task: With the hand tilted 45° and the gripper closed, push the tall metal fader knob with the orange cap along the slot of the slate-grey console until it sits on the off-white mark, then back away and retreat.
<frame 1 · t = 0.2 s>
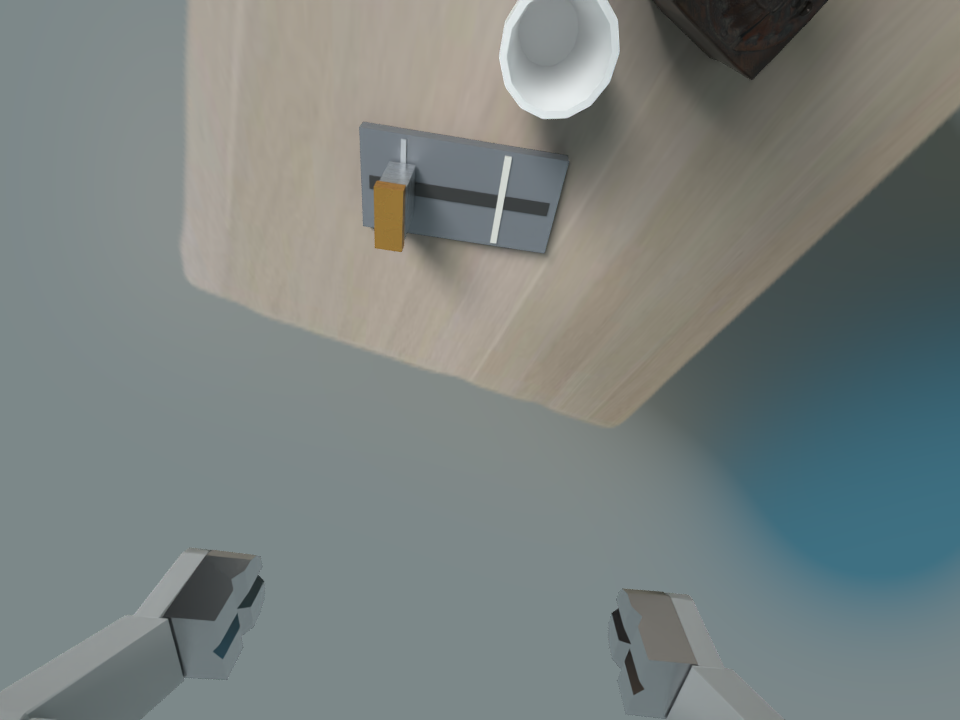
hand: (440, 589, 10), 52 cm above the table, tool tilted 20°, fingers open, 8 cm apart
console: (461, 189, 57), on the table
foam cup: (547, 30, 45), on the table
fader: (395, 203, 51), point 7 cm above the table, slide at -7.0 cm
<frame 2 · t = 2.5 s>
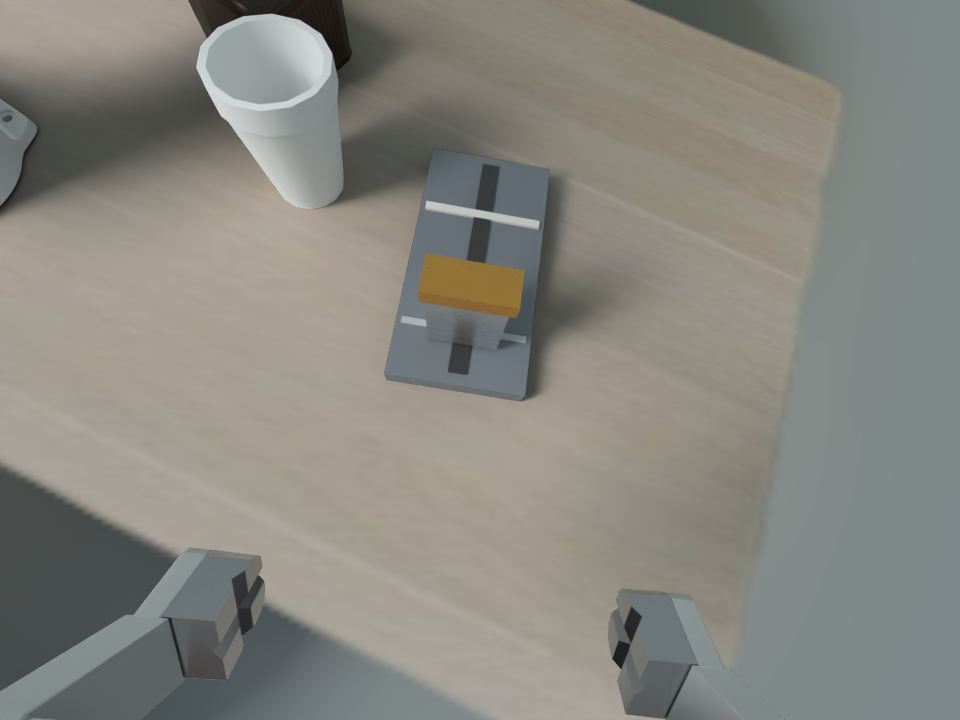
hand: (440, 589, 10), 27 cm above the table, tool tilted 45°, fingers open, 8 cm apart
console: (473, 271, 44), on the table
manual coffee grinder: (271, 49, 50), on the table
foam cup: (312, 183, 45), on the table
fader: (467, 307, 35), point 7 cm above the table, slide at -7.0 cm
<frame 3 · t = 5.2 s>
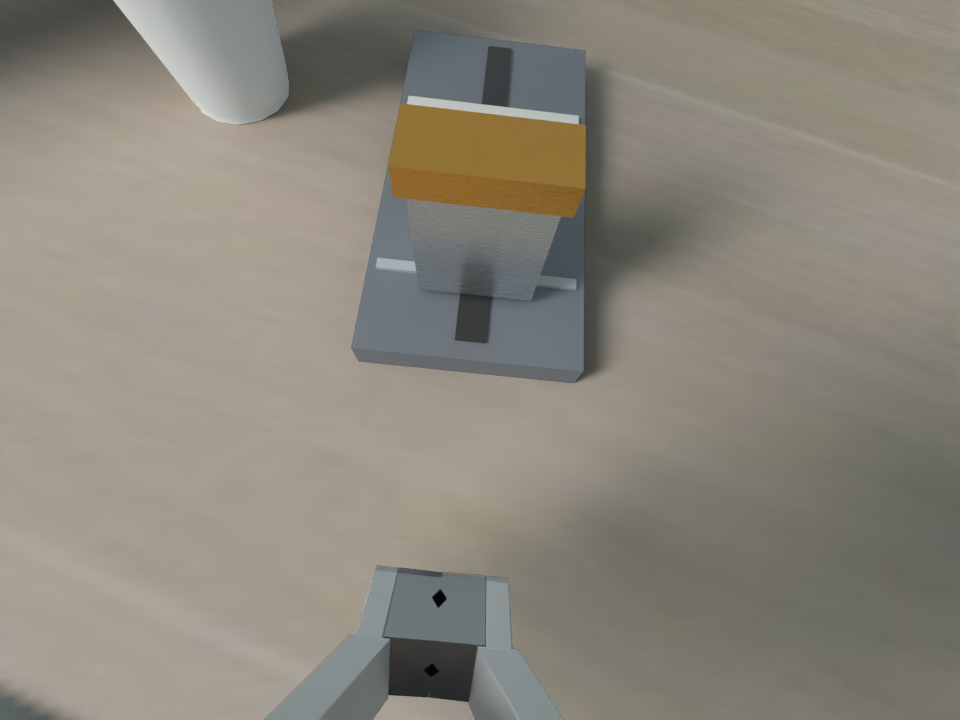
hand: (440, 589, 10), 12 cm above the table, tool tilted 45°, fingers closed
console: (484, 197, 29), on the table
foam cup: (243, 92, 31), on the table
fader: (482, 220, 20), point 7 cm above the table, slide at -7.0 cm
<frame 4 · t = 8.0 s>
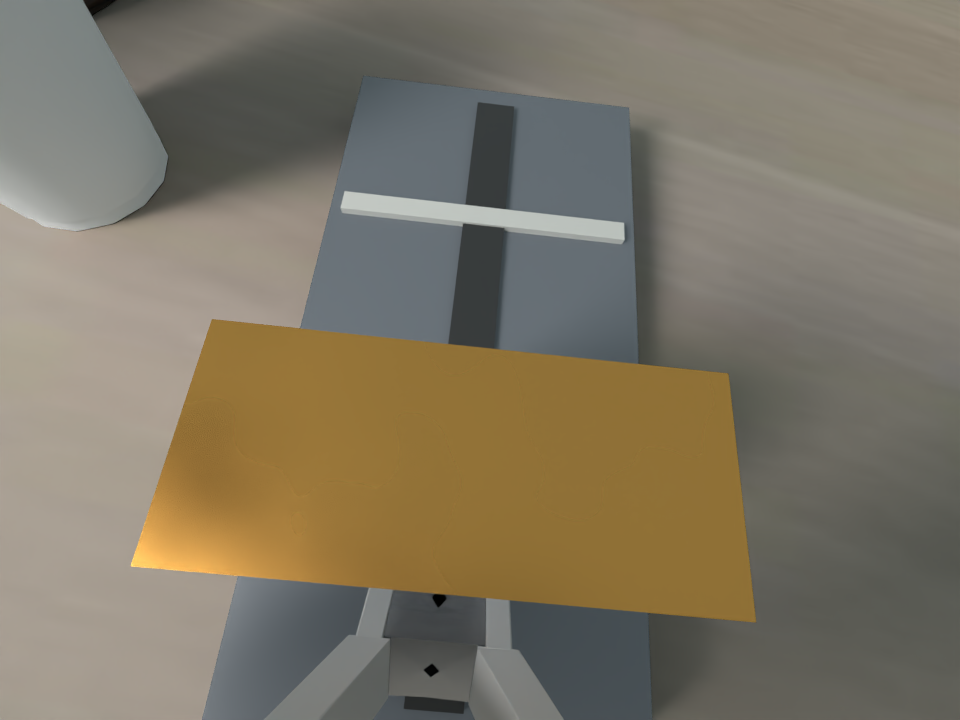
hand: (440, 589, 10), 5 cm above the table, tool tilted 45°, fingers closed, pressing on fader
console: (469, 356, 18), on the table
foam cup: (95, 174, 20), on the table
fader: (457, 487, 10), point 7 cm above the table, slide at -5.6 cm, touching gripper
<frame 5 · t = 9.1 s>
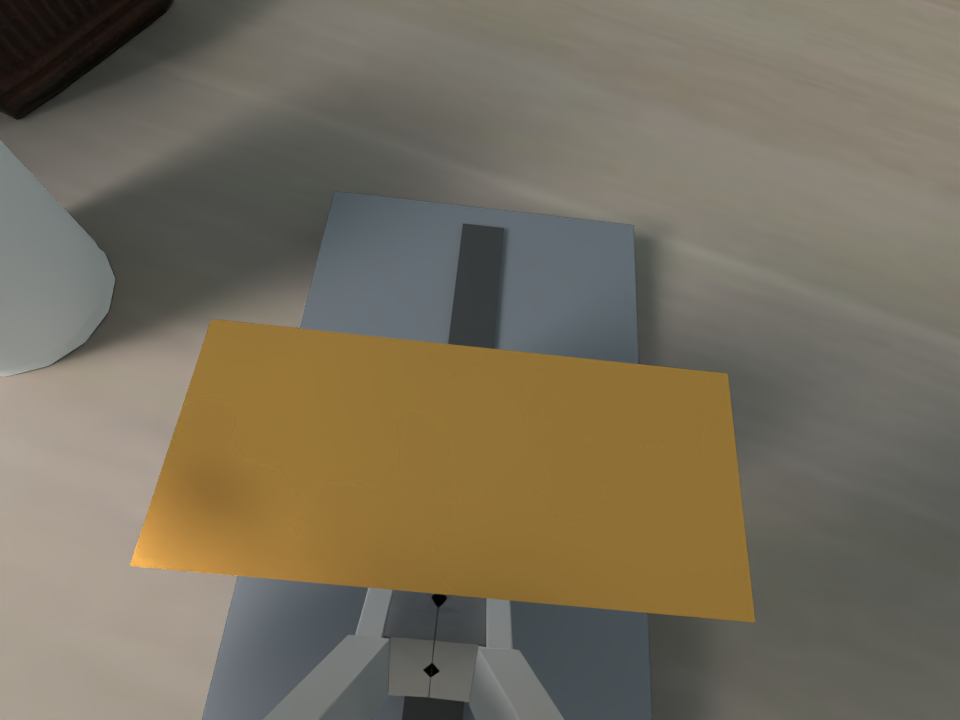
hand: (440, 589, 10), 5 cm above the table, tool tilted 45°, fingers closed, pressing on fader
console: (451, 527, 16), on the table
manual coffee grinder: (0, 0, 23), on the table
foam cup: (32, 301, 18), on the table
fader: (457, 487, 10), point 7 cm above the table, slide at 0.8 cm, touching gripper
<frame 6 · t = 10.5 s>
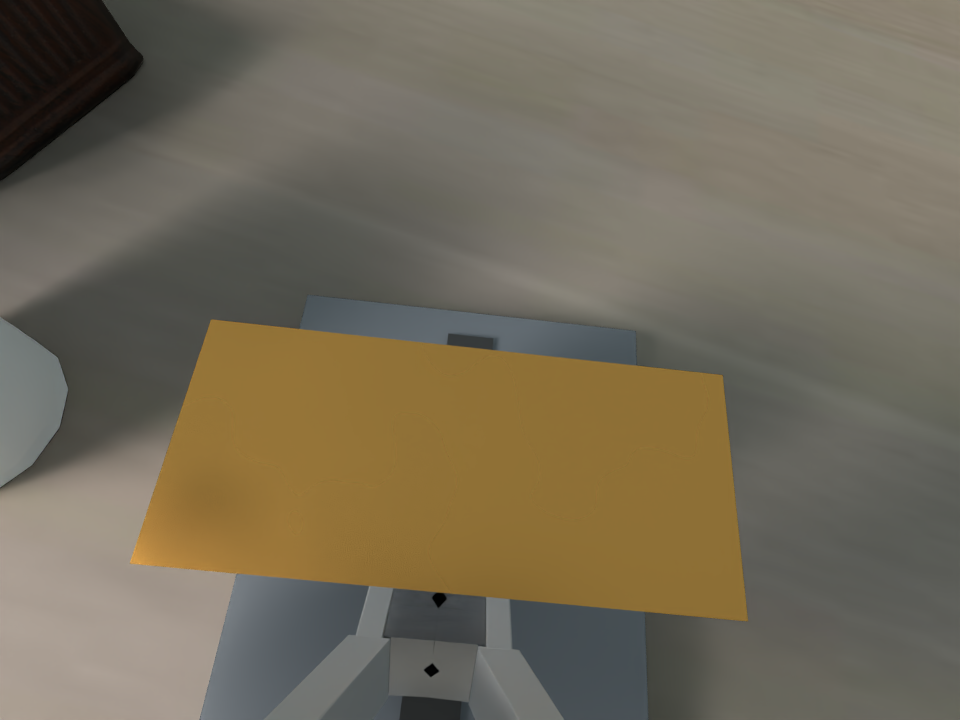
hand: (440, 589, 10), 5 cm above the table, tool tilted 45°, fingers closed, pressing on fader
console: (433, 685, 14), on the table
fader: (455, 487, 10), point 7 cm above the table, slide at 5.5 cm, touching gripper
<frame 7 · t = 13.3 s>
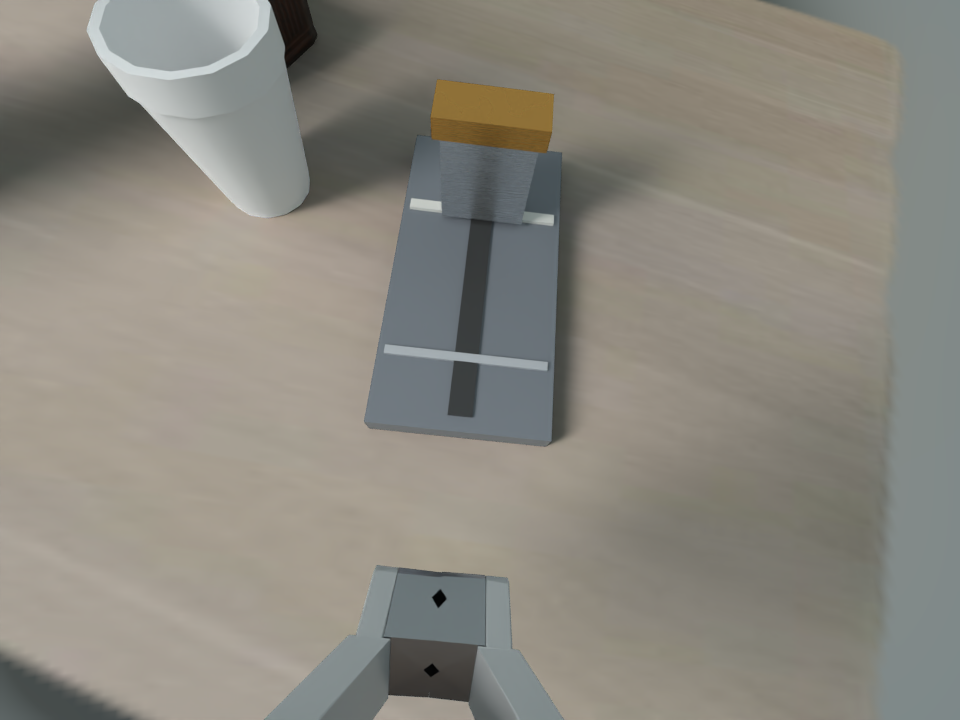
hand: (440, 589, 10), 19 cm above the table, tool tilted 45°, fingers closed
console: (474, 283, 35), on the table
manual coffee grinder: (222, 36, 43), on the table
foam cup: (271, 187, 37), on the table
fader: (487, 161, 30), point 7 cm above the table, slide at 5.5 cm
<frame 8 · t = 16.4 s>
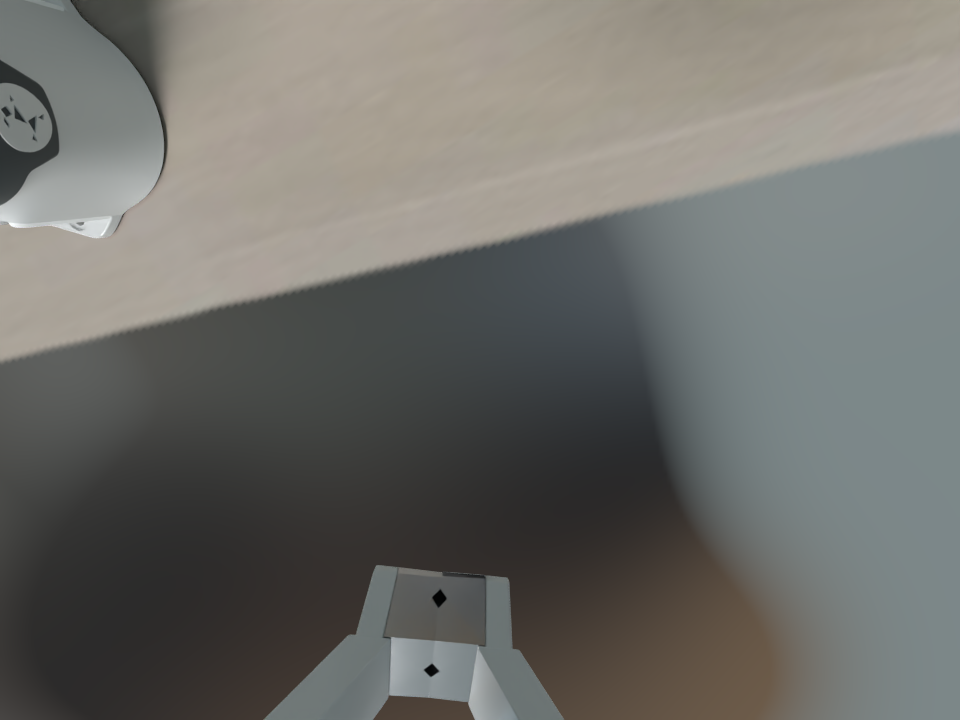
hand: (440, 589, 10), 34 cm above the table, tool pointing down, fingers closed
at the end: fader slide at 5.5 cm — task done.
